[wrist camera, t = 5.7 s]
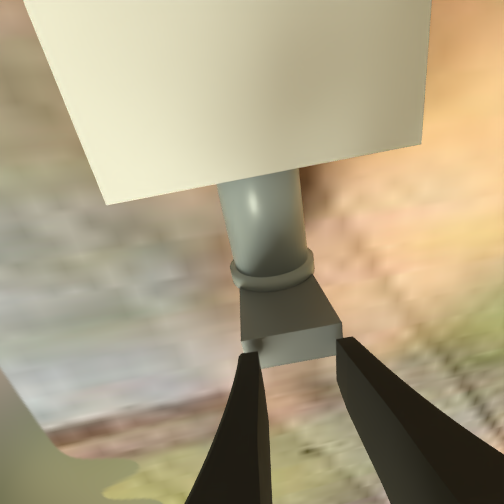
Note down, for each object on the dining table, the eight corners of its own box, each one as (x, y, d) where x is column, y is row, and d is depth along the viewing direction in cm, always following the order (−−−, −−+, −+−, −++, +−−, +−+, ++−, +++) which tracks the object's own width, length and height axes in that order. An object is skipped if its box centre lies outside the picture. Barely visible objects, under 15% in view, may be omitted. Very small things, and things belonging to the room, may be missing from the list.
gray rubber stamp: (237, 280, 18) (239, 373, 11) (190, 75, 13) (133, -15, 6) (305, 268, 18) (353, 352, 11) (282, 56, 13) (339, -57, 6)
